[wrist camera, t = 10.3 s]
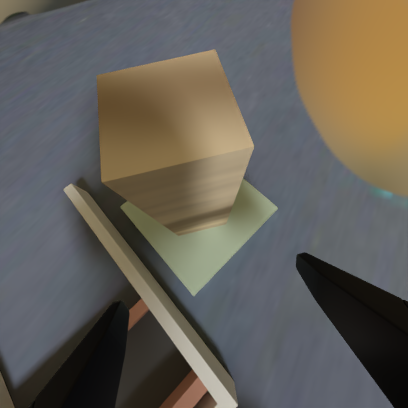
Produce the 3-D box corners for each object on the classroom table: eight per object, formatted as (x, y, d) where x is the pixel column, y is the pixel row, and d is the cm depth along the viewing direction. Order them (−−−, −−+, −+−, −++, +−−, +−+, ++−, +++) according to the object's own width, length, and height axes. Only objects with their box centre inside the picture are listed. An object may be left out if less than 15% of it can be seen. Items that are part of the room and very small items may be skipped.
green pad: (274, 210, 18) (278, 208, 18) (194, 294, 16) (193, 296, 15) (200, 146, 22) (199, 141, 21) (124, 209, 19) (119, 206, 18)
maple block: (226, 224, 17) (254, 146, 5) (178, 236, 17) (101, 182, 5) (213, 181, 19) (215, 49, 7) (170, 191, 19) (96, 75, 7)
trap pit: (208, 368, 14) (207, 390, 12) (66, 536, 12) (29, 605, 10) (151, 292, 17) (141, 298, 14) (20, 421, 14) (-19, 454, 12)
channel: (233, 380, 14) (238, 405, 12) (67, 587, 11) (28, 676, 9) (87, 192, 20) (71, 183, 18) (-44, 293, 17) (-84, 298, 15)
